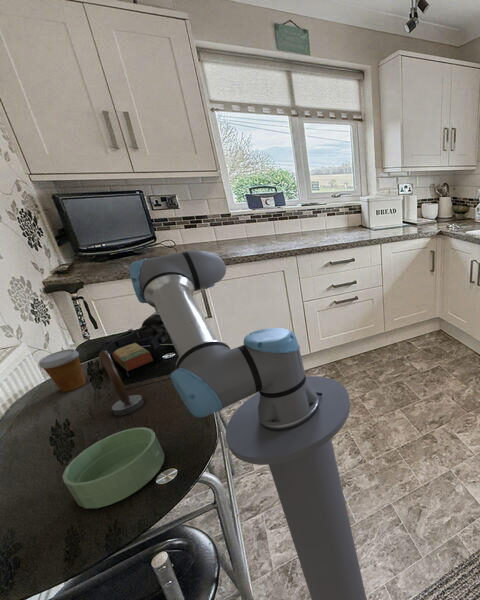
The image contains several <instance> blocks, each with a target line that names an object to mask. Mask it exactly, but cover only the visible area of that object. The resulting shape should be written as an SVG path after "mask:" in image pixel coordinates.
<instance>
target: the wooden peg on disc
mask: <svg viewBox="0 0 480 600" xmlns="http://www.w3.org/2000/svg"><path fill="white" fill-rule="evenodd" d="M98 357H99V358H100V360H101V363H102V365H103V367H104V369H105V371H106V373H107V376H108V377H109V379H110V382H111V384H112V385H113V388H114V389H115V392H116V394H117V396H118V397H119V400H118V401H116V402H115V403H114V404H113V405H112V406H111V410H112V413H113V414H114V416H117V417H120V416H121V417H122V416H126V415H129V414H131V413H133V412H136V411H137V410H139V409H140V408H142V407H143V406H144V403H145V400H144V399H143V397H142V395H140V394H132V395H129V393H128V391H127V389H126V387H125V385H124V382H123V380H122V378H121V376H120V374H119V372H118V369H117V368H116V366H115V364H114V361H113V359H112V358H111V357H112V356H111V355H109V353H108V352H107V351H102V352H99V354H98Z"/></svg>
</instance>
